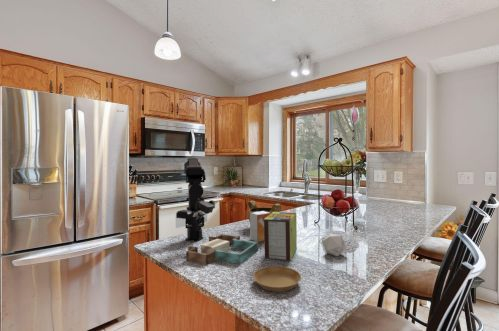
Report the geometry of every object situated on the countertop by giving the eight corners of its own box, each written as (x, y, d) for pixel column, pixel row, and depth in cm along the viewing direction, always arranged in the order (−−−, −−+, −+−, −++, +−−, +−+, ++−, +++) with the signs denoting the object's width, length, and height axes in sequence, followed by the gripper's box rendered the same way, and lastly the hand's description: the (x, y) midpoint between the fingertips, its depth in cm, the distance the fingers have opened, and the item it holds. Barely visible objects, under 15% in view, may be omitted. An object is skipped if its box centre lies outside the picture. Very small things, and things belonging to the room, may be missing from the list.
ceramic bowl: (288, 229, 145) (288, 202, 145) (268, 235, 133) (267, 206, 133) (259, 223, 161) (259, 198, 161) (238, 228, 149) (238, 201, 149)
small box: (257, 242, 122) (257, 214, 122) (249, 239, 128) (249, 212, 127) (271, 239, 127) (270, 212, 127) (263, 236, 132) (263, 210, 132)
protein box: (296, 248, 114) (296, 212, 114) (290, 261, 99) (290, 220, 99) (273, 246, 117) (272, 211, 117) (263, 258, 103) (263, 218, 102)
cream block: (201, 254, 109) (200, 244, 109) (217, 247, 117) (217, 238, 117) (213, 257, 105) (212, 247, 105) (229, 250, 113) (229, 241, 113)
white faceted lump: (327, 260, 101) (343, 241, 99) (314, 243, 108) (329, 226, 106) (338, 262, 106) (354, 245, 104) (325, 246, 113) (339, 230, 111)
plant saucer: (282, 301, 71) (282, 292, 71) (243, 284, 81) (243, 276, 81) (310, 282, 82) (310, 274, 82) (272, 270, 92) (272, 262, 92)
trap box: (180, 259, 103) (180, 250, 102) (215, 240, 126) (215, 233, 126) (234, 269, 92) (234, 259, 92) (262, 246, 116) (262, 239, 116)
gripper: (197, 199, 103) (198, 238, 103) (222, 193, 120) (222, 227, 120) (175, 197, 108) (175, 235, 108) (201, 192, 125) (202, 225, 125)
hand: (195, 230), depth 115 cm, fingers closed
